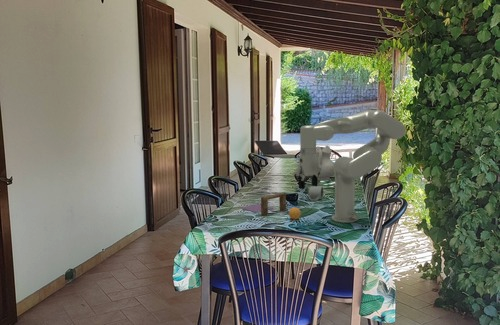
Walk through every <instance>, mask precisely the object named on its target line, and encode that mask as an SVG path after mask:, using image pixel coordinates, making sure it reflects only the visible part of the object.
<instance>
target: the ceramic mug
mask: <svg viewBox="0 0 500 325" xmlns="http://www.w3.org/2000/svg"><path fill="white" fill-rule="evenodd" d="M307 194H308V195H307V196H308V199H309V200H310V201H311V202H317V201H318V200H323V199H324V186H319V185H318V186H309V188H308V191H307Z"/></svg>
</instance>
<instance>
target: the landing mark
mask: <svg viewBox="0 0 500 325" xmlns="http://www.w3.org/2000/svg"><path fill="white" fill-rule="evenodd" d="M241 209H243V210H245V211H250V212H252V213H261V203H258V204H257V203H256V204H253V205H247V206H246V205H245V206H241ZM272 209H274V207H272V206H268V210H269V211H270V210H272Z"/></svg>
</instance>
